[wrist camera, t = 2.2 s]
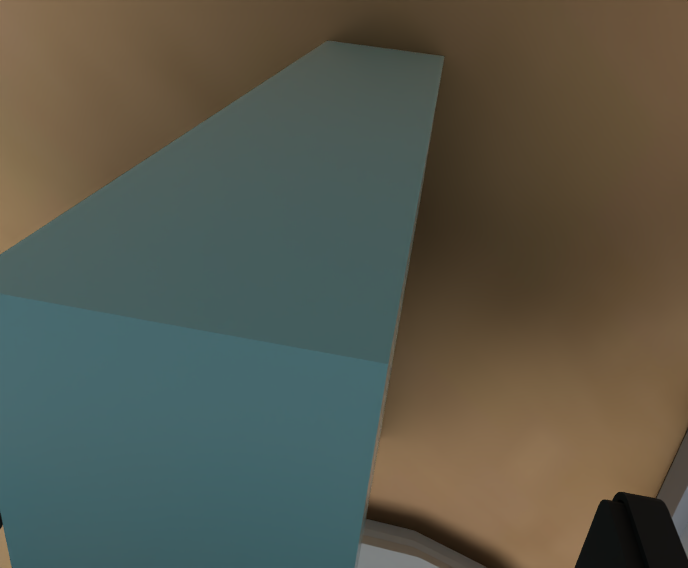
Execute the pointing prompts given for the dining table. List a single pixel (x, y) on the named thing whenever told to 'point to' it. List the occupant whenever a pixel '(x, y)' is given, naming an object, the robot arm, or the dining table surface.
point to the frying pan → (406, 549)
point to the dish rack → (678, 493)
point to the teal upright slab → (219, 331)
